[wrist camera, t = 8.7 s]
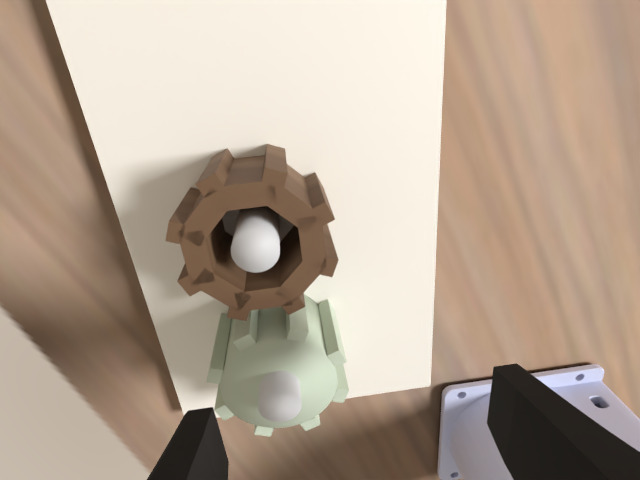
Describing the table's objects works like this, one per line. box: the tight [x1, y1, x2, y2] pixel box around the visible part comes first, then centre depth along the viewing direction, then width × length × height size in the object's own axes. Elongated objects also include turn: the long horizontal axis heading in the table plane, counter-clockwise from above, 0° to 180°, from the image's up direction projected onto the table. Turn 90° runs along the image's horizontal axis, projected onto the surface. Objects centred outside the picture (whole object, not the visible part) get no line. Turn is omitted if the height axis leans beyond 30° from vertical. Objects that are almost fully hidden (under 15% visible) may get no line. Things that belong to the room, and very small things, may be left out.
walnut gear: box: [165, 144, 338, 321], centre depth 15 cm, size 6×5×4 cm
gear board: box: [46, 0, 446, 437], centre depth 15 cm, size 13×20×6 cm, turn 5°
